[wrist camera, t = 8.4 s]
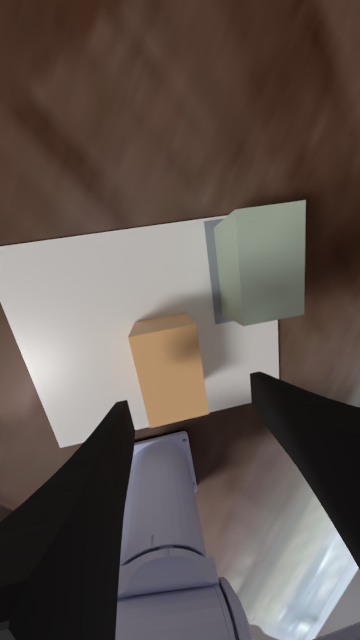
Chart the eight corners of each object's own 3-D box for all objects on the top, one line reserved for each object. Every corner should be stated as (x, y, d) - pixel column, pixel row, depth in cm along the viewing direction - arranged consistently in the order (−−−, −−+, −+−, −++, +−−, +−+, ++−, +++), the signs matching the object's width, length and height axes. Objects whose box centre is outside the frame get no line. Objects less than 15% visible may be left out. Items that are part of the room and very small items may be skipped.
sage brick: (269, 305, 19) (304, 314, 14) (222, 314, 18) (243, 326, 14) (266, 220, 17) (305, 200, 12) (213, 227, 16) (235, 209, 12)
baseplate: (276, 392, 22) (279, 396, 21) (62, 442, 20) (59, 448, 19) (271, 211, 17) (275, 208, 16) (-15, 250, 15) (-23, 249, 14)
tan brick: (197, 383, 20) (209, 414, 15) (151, 393, 19) (150, 428, 15) (186, 312, 18) (196, 324, 13) (134, 321, 17) (127, 337, 13)
